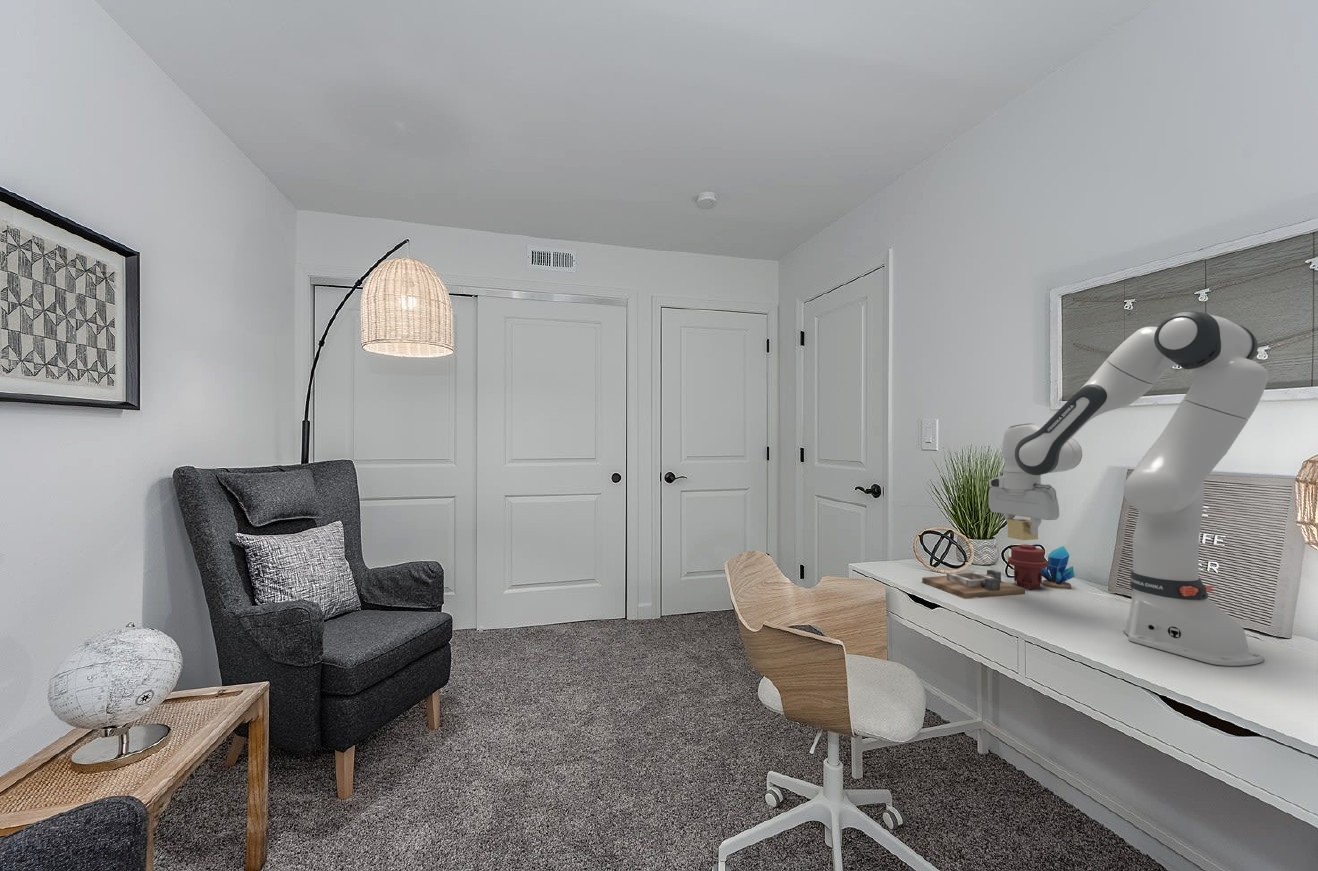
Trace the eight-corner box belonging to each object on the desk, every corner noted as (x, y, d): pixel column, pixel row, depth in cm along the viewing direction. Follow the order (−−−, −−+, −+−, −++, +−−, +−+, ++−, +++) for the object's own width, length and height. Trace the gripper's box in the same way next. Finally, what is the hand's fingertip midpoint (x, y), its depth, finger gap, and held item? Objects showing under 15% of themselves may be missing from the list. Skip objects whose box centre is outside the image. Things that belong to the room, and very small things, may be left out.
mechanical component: (1034, 592, 165) (1000, 584, 174) (1055, 588, 169) (1021, 580, 178) (1034, 550, 165) (1000, 544, 174) (1055, 546, 169) (1021, 541, 178)
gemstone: (1056, 581, 177) (1056, 542, 177) (1078, 589, 168) (1078, 548, 168) (1033, 582, 176) (1033, 543, 176) (1054, 589, 168) (1054, 548, 168)
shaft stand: (1025, 593, 164) (1025, 577, 164) (965, 598, 160) (965, 582, 160) (977, 578, 182) (977, 564, 182) (922, 582, 177) (922, 567, 177)
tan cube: (1038, 539, 157) (1037, 520, 157) (1022, 540, 156) (1022, 521, 156) (1022, 536, 162) (1022, 518, 162) (1007, 537, 161) (1007, 519, 161)
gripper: (1065, 484, 149) (1066, 537, 149) (1002, 479, 169) (1003, 526, 169) (1045, 485, 148) (1046, 539, 148) (984, 480, 168) (984, 527, 168)
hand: (1022, 532), depth 159 cm, fingers closed on tan cube, 5 cm apart
